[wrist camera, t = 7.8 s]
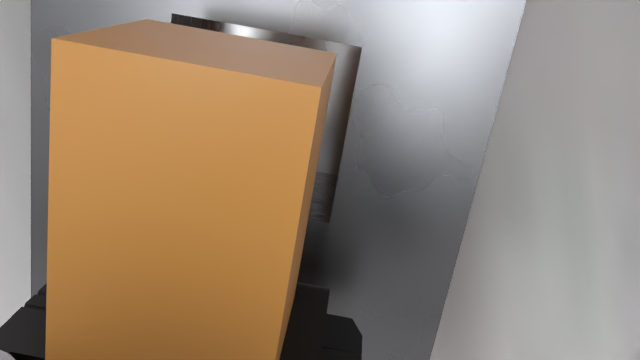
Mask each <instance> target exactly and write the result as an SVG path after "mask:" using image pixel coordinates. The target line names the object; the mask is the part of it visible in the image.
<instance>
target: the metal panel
mask: <svg viewBox="0 0 640 360" xmlns="http://www.w3.org/2000/svg"><path fill="white" fill-rule="evenodd" d="M525 4H526V0H31V298H32V297H33V296H34V295H35V294H36V295H37V294H38V291H39V290H40V289H41V288H42V287H43V286H44V285H45V284H46V283H47V242H48V191H49V140H50V89H51V38H55V37H60V36H65V35H70V34H75V33H80V32H85V31H90V30H95V29H100V28H105V27H110V26H115V25H120V24H125V23H130V22H135V21H140V20H145V19H150V20H156V21H161V22H167V23H172V24H178V25H183V26H189V27H194V28H200V29H205V30H211V31H216V32H222V33H228V34H233V35H239V36H244V37H250V38H255V39H261V40H266V41H272V42H277V43H283V44H288V45H294V46H299V47H305V48H311V49H316V50H322V51H327V52H333V53H337V56H336V62H335V67H334V73H333V79H332V84H331V90H330V96H329V102H328V107H327V113H326V119H325V125H324V130H323V136H322V142H321V148H320V153H319V159H318V165H317V171H316V176H315V182H314V188H313V193H312V199H311V205H310V211H309V216H308V222H307V228H306V234H305V239H304V245H303V251H302V257H301V262H300V268H299V274H298V280H297V282H300V283H305V284H310V285H316V286H321V287H326V288H330V292H329V300H328V307H327V314H332V315H337V316H342V317H348V318H352V319H353V321H354V322H355V324H356V326H357V327H358V329H359V331H360V333H361V334H362V356H361V357H362V360H429V359H430V356H431V352H432V348H433V344H434V341H435V337H436V333H437V330H438V326H439V322H440V319H441V315H442V311H443V307H444V304H445V300H446V296H447V293H448V289H449V285H450V282H451V278H452V274H453V270H454V267H455V263H456V259H457V256H458V252H459V248H460V245H461V241H462V237H463V233H464V230H465V226H466V222H467V219H468V215H469V211H470V208H471V204H472V200H473V196H474V193H475V189H476V185H477V182H478V178H479V174H480V171H481V167H482V163H483V159H484V156H485V152H486V148H487V145H488V141H489V137H490V134H491V130H492V126H493V122H494V119H495V115H496V111H497V108H498V104H499V100H500V97H501V93H502V89H503V85H504V82H505V78H506V74H507V71H508V67H509V63H510V60H511V56H512V52H513V48H514V45H515V41H516V37H517V34H518V30H519V26H520V23H521V19H522V15H523V11H524V8H525Z"/></svg>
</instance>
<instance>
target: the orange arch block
mask: <svg viewBox="0 0 640 360" xmlns="http://www.w3.org/2000/svg"><path fill="white" fill-rule="evenodd" d="M336 56H337V53H333V52H327V51H322V50H316V49H311V48H305V47H299V46H294V45H288V44H283V43H277V42H272V41H266V40H261V39H255V38H250V37H244V36H239V35H233V34H228V33H222V32H216V31H211V30H205V29H200V28H194V27H189V26H183V25H178V24H172V23H167V22H161V21H156V20H150V19H145V20H140V21H135V22H130V23H125V24H120V25H115V26H110V27H105V28H100V29H95V30H90V31H85V32H80V33H75V34H70V35H65V36H60V37H55V38H51V89H50V140H49V191H48V242H47V293H46V344H45V360H279V359H280V355H281V351H282V346H283V342H284V338H285V334H286V330H287V326H288V322H289V317H290V313H291V309H292V305H293V301H294V297H295V291H296V285H297V280H298V274H299V268H300V262H301V257H302V251H303V245H304V239H305V234H306V228H307V222H308V216H309V211H310V205H311V199H312V193H313V188H314V182H315V176H316V171H317V165H318V159H319V153H320V148H321V142H322V136H323V130H324V125H325V119H326V113H327V107H328V102H329V96H330V90H331V84H332V79H333V73H334V67H335V62H336Z"/></svg>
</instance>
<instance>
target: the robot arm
mask: <svg viewBox="0 0 640 360" xmlns="http://www.w3.org/2000/svg"><path fill="white" fill-rule="evenodd" d="M329 292H330V288H326V287H321V286H316V285H310V284H305V283H300V282H297V285H296V291H295V297H294V301H293V305H292V309H291V313H290V317H289V322H288V326H287V330H286V334H285V338H284V342H283V346H282V351H281V355H280V359H279V360H362V357H361V356H362V334H361V333H360V331H359V329H358V327H357V326H356V324H355V322H354V321H353V319H352V318H348V317H342V316H337V315H332V314H327V307H328V300H329ZM46 293H47V283H46V284H45V285H44V286H43V287H42V288H41V289H40V290H39V291H38V294H37V295H36V294H35V295H34V296H33V297H32V298H31V299H29V300H28V301H27V302H26V303H25V306H24V307H21V308H20V309H19V310H18V311H17V312H16V313H15V314H14V315H13V316H12V317H11V318H10V319H9V320H8V321H7V322H6V323H5V324H4V325H3V326H1V327H0V360H45V344H46Z"/></svg>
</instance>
